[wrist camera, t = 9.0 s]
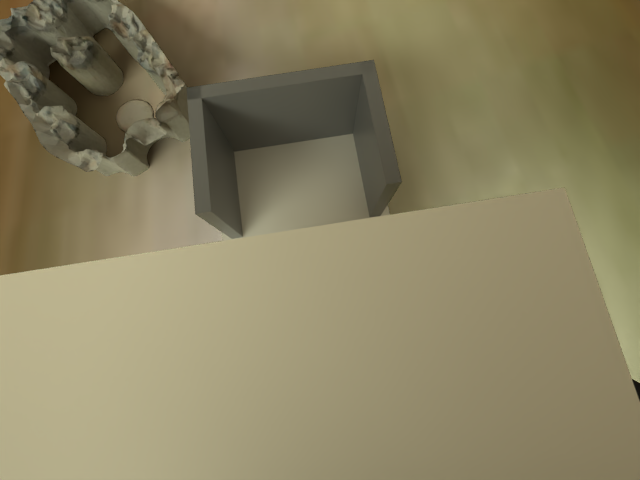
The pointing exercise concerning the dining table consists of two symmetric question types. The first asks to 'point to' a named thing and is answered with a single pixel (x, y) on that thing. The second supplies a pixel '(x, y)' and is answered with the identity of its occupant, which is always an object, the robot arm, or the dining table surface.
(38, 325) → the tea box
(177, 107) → the grey lumpy piece
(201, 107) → the box holder
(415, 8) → the dining table surface
